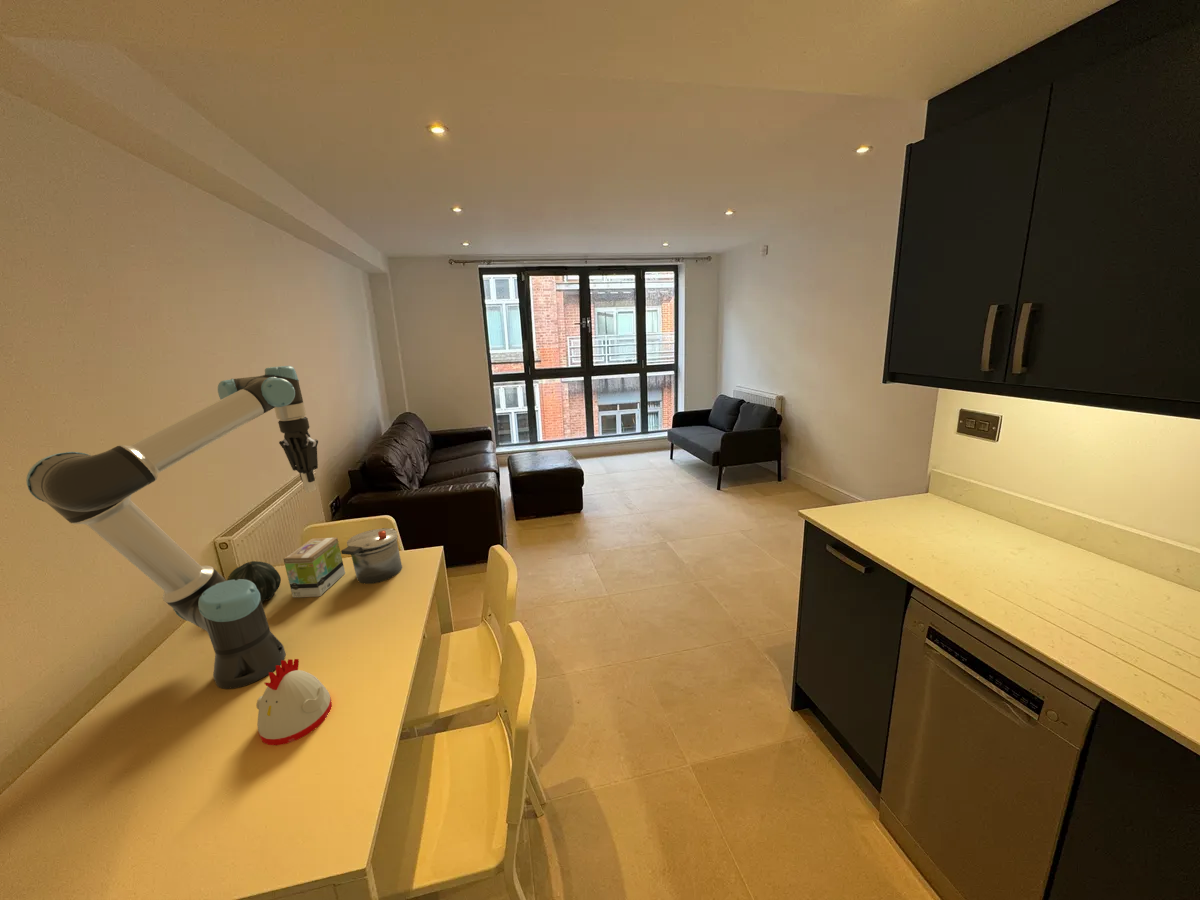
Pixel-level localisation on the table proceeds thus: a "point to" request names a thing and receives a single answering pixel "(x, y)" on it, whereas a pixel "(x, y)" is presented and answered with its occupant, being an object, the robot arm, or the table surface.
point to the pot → (377, 563)
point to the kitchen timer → (291, 704)
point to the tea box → (314, 567)
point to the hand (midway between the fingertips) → (311, 491)
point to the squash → (259, 577)
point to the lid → (369, 540)
